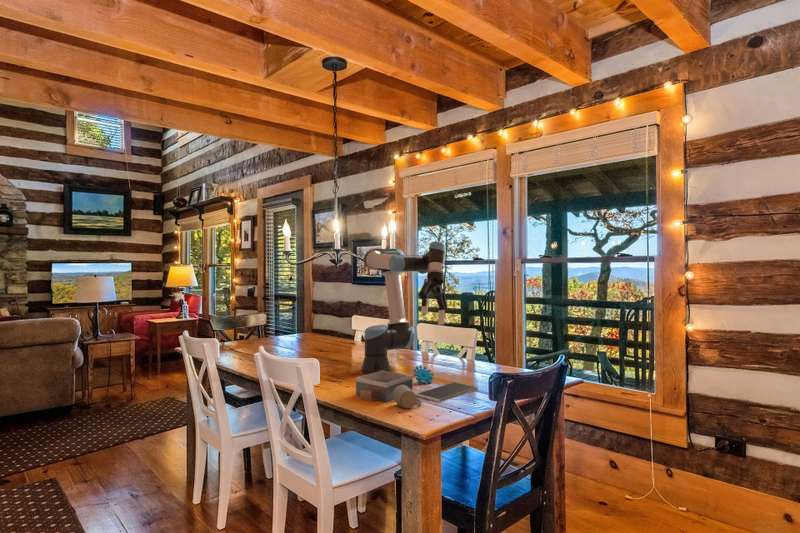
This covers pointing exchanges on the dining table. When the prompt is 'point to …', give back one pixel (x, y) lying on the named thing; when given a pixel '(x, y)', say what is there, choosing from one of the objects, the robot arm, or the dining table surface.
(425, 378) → the gear
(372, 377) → the grey hollow block
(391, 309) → the robot arm
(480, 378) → the dining table surface
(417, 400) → the ceramic mug
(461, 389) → the grey flat slab
